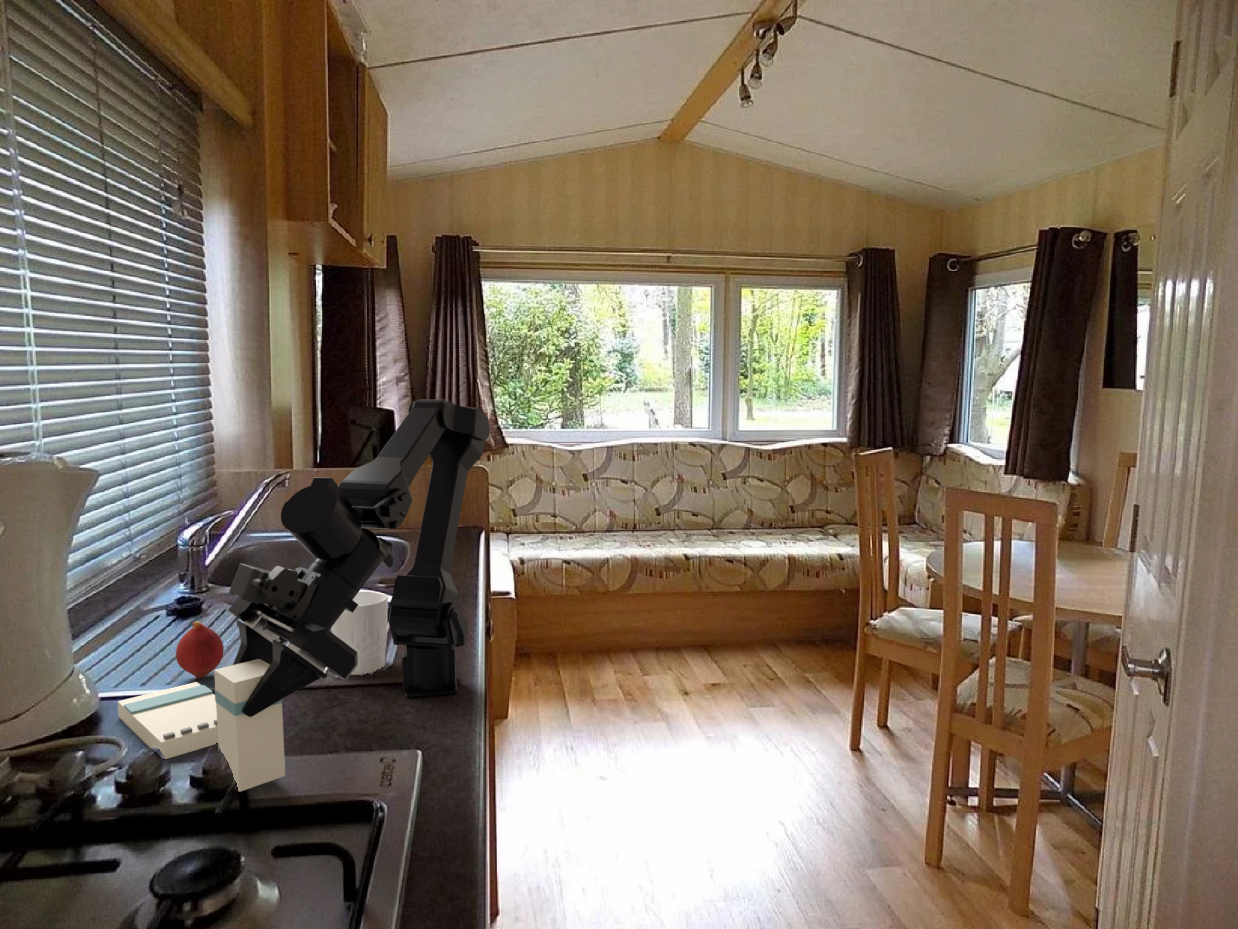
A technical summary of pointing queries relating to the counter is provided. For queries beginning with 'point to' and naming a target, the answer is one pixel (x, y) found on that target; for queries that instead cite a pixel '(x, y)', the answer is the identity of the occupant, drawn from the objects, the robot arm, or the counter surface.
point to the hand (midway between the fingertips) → (234, 706)
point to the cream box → (248, 726)
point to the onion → (199, 650)
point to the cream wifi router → (173, 718)
